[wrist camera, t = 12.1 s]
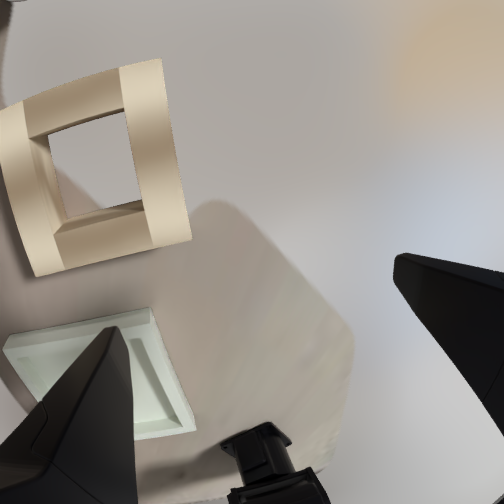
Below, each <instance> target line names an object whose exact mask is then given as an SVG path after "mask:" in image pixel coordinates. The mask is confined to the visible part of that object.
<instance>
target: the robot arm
mask: <svg viewBox="0 0 504 504" xmlns="http://www.w3.org/2000/svg"><path fill="white" fill-rule="evenodd" d="M393 280H394V283H395V285H396V286H397V288H398V289H399V291H400V292H401V294H402V295H403V297H404V298H405V300H406V301H407V303H408V304H409V305H410V307H411V309H412V310H413V312H414V313H415V315H416V316H417V317H418V318H419V320H420V321H421V322H422V323H423V325H424V326H425V327H426V328H427V330H428V331H429V332H430V333H431V334H432V336H433V337H434V338H435V340H436V341H437V342H438V344H439V345H440V346H441V347H442V349H443V350H444V351H445V353H446V354H447V355H448V357H449V358H450V359H451V360H452V362H453V363H454V365H455V366H456V367H457V369H458V370H459V371H460V373H461V374H462V376H463V377H464V378H465V380H466V381H467V382H468V384H469V385H470V387H471V388H472V389H473V391H474V392H475V394H476V395H477V397H478V398H479V399H480V401H481V402H482V404H483V405H484V407H485V409H486V410H487V411H488V413H489V415H490V416H491V418H492V419H493V421H494V422H495V423H496V425H497V427H498V428H499V430H500V431H501V433H502V435H503V436H504V273H503V272H499V271H493V270H489V269H484V268H480V267H475V266H470V265H465V264H460V263H456V262H451V261H446V260H441V259H435V258H431V257H426V256H420V255H416V254H411V253H403V254H400V255H397V256H396V257H395V260H394V272H393ZM291 444H292V442H291V440H290V439H289V438H288V437H287V436H286V435H285V434H284V433H283V432H282V431H280V430H279V429H278V428H277V427H276V426H275V425H274V424H273V423H272V422H268V423H265V424H263V425H261V426H259V427H257V428H255V429H253V430H251V431H249V432H246V433H244V434H242V435H240V436H238V437H236V438H233V439H231V440H229V441H226V442H224V443H222V444H221V445H220V446H221V449H222V450H224V451H225V452H227V453H228V454H230V455H231V456H233V457H235V458H236V462H237V465H238V469H239V472H240V475H241V479H242V482H243V485H244V487H239V488H231V493H230V494H229V495H227V498H228V501H229V504H331V503H330V500H329V498H328V496H327V493H326V491H325V490H324V488H323V486H322V485H321V483H320V481H319V480H318V478H317V476H316V475H315V473H314V472H313V470H312V468H311V467H307V468H305V469H304V470H301V471H298V472H296V471H295V469H294V467H293V464H292V462H291V460H290V457H289V455H288V453H287V450H286V448H285V447H287V446H289V445H291ZM0 504H138V497H137V485H136V471H135V452H134V402H133V388H132V379H131V369H130V357H129V351H128V347H127V345H126V343H125V341H124V338H123V336H122V334H121V332H120V329H119V328H118V327H117V326H111V327H105V328H104V329H103V330H102V331H101V332H100V333H99V334H98V335H97V336H96V337H95V338H94V339H93V341H92V342H91V343H90V344H89V345H88V346H87V347H86V348H85V349H84V351H83V352H82V353H81V354H80V355H79V356H78V357H77V358H76V360H75V361H74V362H73V363H72V364H71V365H70V366H69V368H68V369H67V370H66V371H65V372H64V373H63V374H62V376H61V377H60V378H59V379H58V380H57V381H56V383H55V384H54V385H53V386H52V387H51V388H50V390H49V391H48V392H47V393H46V394H45V396H44V397H43V398H42V401H39V403H38V404H37V405H36V406H35V408H34V409H33V410H32V411H31V412H30V413H29V415H28V416H27V417H26V418H25V419H24V420H23V422H22V423H21V424H20V425H19V426H18V427H17V428H16V429H15V430H14V431H13V432H12V433H11V434H10V435H9V436H8V437H7V439H6V440H5V441H4V442H3V443H2V444H1V445H0ZM493 504H504V494H503V495H502V496H501V497H500V498H499V499H498V500H497V501H495V502H494V503H493Z"/></svg>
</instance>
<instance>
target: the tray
mask: <svg viewBox="0 0 504 504" xmlns="http://www.w3.org/2000/svg"><path fill="white" fill-rule="evenodd" d="M111 326H117V327H118V328H119V329H120V332H121V334H122V336H123V338H124V341H125V343H126V345H127V347H128V351H129V357H130V369H131V379H132V388H133V402H134V440H141V439H149V438H156V437H162V436H168V435H174V434H180V433H185V432H191V431H196V426H195V420H194V414H193V412H192V410H191V408H190V406H189V403H188V401H187V399H186V397H185V394H184V392H183V390H182V387H181V385H180V383H179V380H178V378H177V376H176V373H175V371H174V368H173V366H172V363H171V361H170V358H169V356H168V353H167V351H166V348H165V346H164V343H163V340H162V338H161V335H160V332H159V330H158V327H157V324H156V321H155V319H154V316H153V313H152V310H151V307H148V308H143V309H138V310H134V311H129V312H124V313H120V314H115V315H110V316H105V317H100V318H95V319H90V320H85V321H80V322H75V323H70V324H65V325H60V326H55V327H50V328H44V329H39V330H33V331H28V332H23V333H17V334H11V335H9V337H8V339H7V341H6V343H5V345H4V347H3V349H2V351H3V352H4V354H5V355H6V357H7V359H8V360H9V362H10V363H11V365H12V366H13V368H14V369H15V371H16V372H17V374H18V375H19V377H20V378H21V380H22V381H23V382H24V384H25V385H26V387H27V388H28V389H29V391H30V392H31V393H32V395H33V396H34V397H35V399H36V400H37V401H38V403H39V401H42V398H43V397H44V396H45V394H46V393H47V392H48V391H49V390H50V388H51V387H52V386H53V385H54V384H55V383H56V381H57V380H58V379H59V378H60V377H61V376H62V374H63V373H64V372H65V371H66V370H67V369H68V368H69V366H70V365H71V364H72V363H73V362H74V361H75V360H76V358H77V357H78V356H79V355H80V354H81V353H82V352H83V351H84V349H85V348H86V347H87V346H88V345H89V344H90V343H91V342H92V341H93V339H94V338H95V337H96V336H97V335H98V334H99V333H100V332H101V331H102V330H103V329H104V328H105V327H111Z"/></svg>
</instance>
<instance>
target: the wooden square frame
mask: <svg viewBox="0 0 504 504" xmlns="http://www.w3.org/2000/svg"><path fill="white" fill-rule="evenodd" d="M124 111H125V115H126V121H127V128H128V133H129V139H130V144H131V150H132V155H133V160H134V165H135V170H136V174H137V179H138V183H139V188H140V192H141V197H142V199H141V200H138V201H133V202H129V203H126V204H121V205H117V206H113V207H110V208H106V209H102V210H98V211H94V212H91V213H87V214H83V215H80V216H76V217H73V218H69V219H67V216H66V212H65V209H64V205H63V201H62V198H61V194H60V190H59V186H58V182H57V178H56V174H55V170H54V165H53V161H52V156H51V151H50V146H49V142H48V136H47V135H49V134H52V133H55V132H58V131H61V130H64V129H67V128H69V127H72V126H76V125H79V124H82V123H85V122H88V121H92V120H95V119H99V118H102V117H105V116H109V115H113V114H117V113H120V112H124ZM0 164H1V168H2V173H3V177H4V181H5V185H6V189H7V193H8V197H9V200H10V204H11V207H12V211H13V214H14V217H15V221H16V224H17V227H18V230H19V233H20V236H21V239H22V242H23V245H24V247H25V250H26V253H27V256H28V258H29V261H30V263H31V266H32V269H33V271H34V274H35V276H36V277H39V276H43V275H47V274H51V273H55V272H59V271H63V270H67V269H71V268H75V267H79V266H83V265H87V264H91V263H95V262H99V261H104V260H108V259H112V258H116V257H120V256H125V255H129V254H133V253H137V252H142V251H146V250H150V249H154V248H159V247H163V246H168V245H172V244H176V243H181V242H185V241H190V240H193V239H192V234H191V229H190V225H189V220H188V215H187V210H186V205H185V200H184V195H183V190H182V185H181V179H180V174H179V169H178V163H177V157H176V152H175V146H174V141H173V134H172V129H171V122H170V116H169V110H168V103H167V96H166V90H165V83H164V76H163V69H162V61H161V58H158V59H153V60H148V61H144V62H139V63H135V64H131V65H127V66H123V67H119V68H115V69H111V70H108V71H104V72H101V73H98V74H94V75H91V76H88V77H84V78H81V79H78V80H75V81H72V82H69V83H66V84H63V85H60V86H58V87H55V88H52V89H50V90H47V91H44V92H42V93H39V94H37V95H35V96H32V97H30V98H28V99H25V100H23V101H21V102H18V103H16V104H14V105H11V106H9V107H7V108H5V109H3V110H1V111H0Z"/></svg>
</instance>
